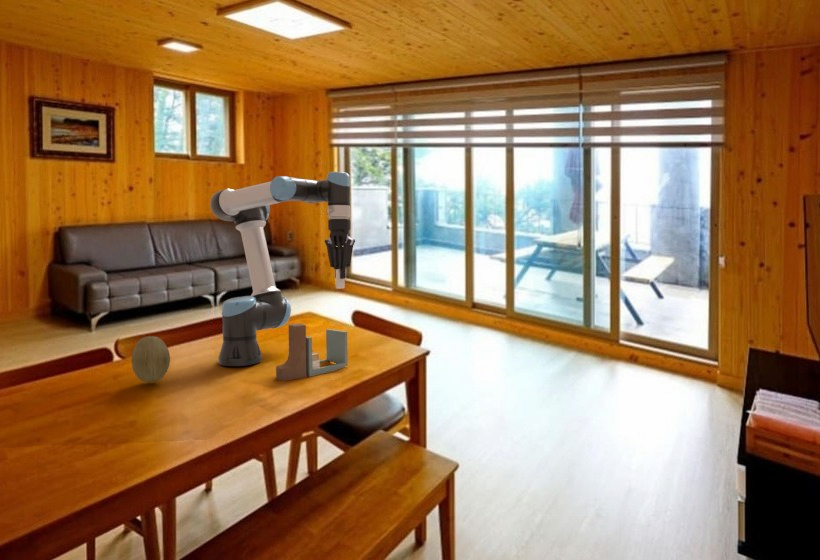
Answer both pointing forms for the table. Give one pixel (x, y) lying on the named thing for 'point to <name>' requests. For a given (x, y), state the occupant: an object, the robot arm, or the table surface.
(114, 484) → the table surface
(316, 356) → the offcut top
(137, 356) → the fruit
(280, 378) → the wooden block
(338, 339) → the rack
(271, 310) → the robot arm
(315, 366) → the offcut mid
